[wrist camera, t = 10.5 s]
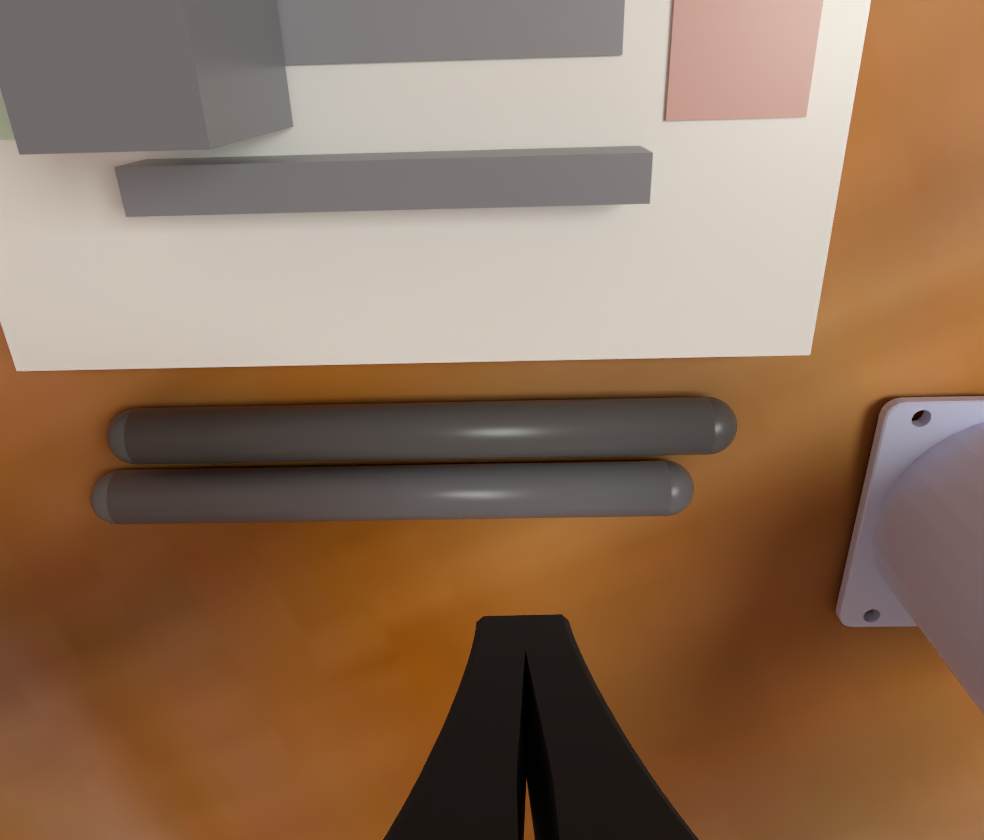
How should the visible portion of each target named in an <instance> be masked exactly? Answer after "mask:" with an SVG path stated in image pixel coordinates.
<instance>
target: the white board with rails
mask: <svg viewBox="0 0 984 840" xmlns="http://www.w3.org/2000/svg"><path fill="white" fill-rule="evenodd" d="M276 1H277V8H278V16H279V23H280V31H281V38H282V46H283V53H284V61H285V68H286V75H287V83H288V90H289V98H290V105H291V113H292V120H293V127H290V128H286V129H283V130H279V131H275V132H272V133H268V134H265V135H261V136H257V137H254V138H250V139H246V140H243V141H239V142H235V143H232V144H228V145H225V146H221V147H217V148H214V149H207V150H171V151H134V152H98V153H61V154H24V155H19V151H18V148H17V144H16V141H15V138H14V134H13V131H12V127H11V124H10V120H9V117H8V113H7V110H6V106H5V103H4V99H3V96H2V93H1V89H0V322H1V325H2V328H3V331H4V334H5V337H6V340H7V343H8V346H9V349H10V352H11V355H12V358H13V361H14V364H15V368H16V371H52V370H101V369H150V368H199V367H247V366H296V365H345V364H394V363H443V362H492V361H541V360H590V359H639V358H688V357H737V356H786V355H810V353H811V347H812V342H813V336H814V330H815V324H816V318H817V312H818V307H819V301H820V295H821V289H822V283H823V277H824V272H825V266H826V260H827V254H828V248H829V242H830V237H831V231H832V225H833V219H834V213H835V207H836V202H837V196H838V190H839V184H840V178H841V172H842V167H843V161H844V155H845V149H846V143H847V137H848V132H849V126H850V120H851V114H852V108H853V102H854V97H855V91H856V85H857V79H858V73H859V67H860V62H861V56H862V50H863V44H864V38H865V32H866V27H867V21H868V15H869V9H870V3H871V0H276ZM736 432H737V420H736V417H735V414H734V412H733V410H732V409H731V408H730V407H729V406H728V405H727V404H726V403H725V402H723V401H721V400H719V399H716V398H713V397H679V398H627V399H575V400H523V401H471V402H419V403H367V404H315V405H262V406H210V407H158V408H132V409H129V410H126V411H123V412H122V413H120V414H118V415H117V416H116V417H115V418H114V419H113V420H112V422H111V423H110V425H109V427H108V431H107V442H108V446H109V448H110V449H111V451H112V453H113V454H114V455H115V456H116V457H118V458H119V459H120V460H122V461H124V462H127V463H131V464H189V463H246V462H304V461H361V460H419V459H476V458H534V457H591V456H649V455H706V454H715V453H718V452H720V451H722V450H724V449H725V448H727V447H728V446H729V445H730V444H731V442H732V441H733V439H734V437H735V435H736ZM693 492H694V485H693V481H692V478H691V476H690V474H689V473H688V471H687V470H686V469H685V468H684V467H682V466H681V465H679V464H677V463H675V462H672V461H613V462H555V463H497V464H439V465H381V466H323V467H265V468H207V469H149V470H117V471H112V472H109V473H107V474H105V475H104V476H102V477H101V478H100V479H99V480H98V481H97V482H96V483H95V485H94V486H93V488H92V491H91V496H90V501H91V506H92V508H93V510H94V512H95V514H96V515H97V516H98V517H99V518H101V519H102V520H104V521H106V522H108V523H112V524H178V523H242V522H306V521H371V520H435V519H500V518H564V517H629V516H671V515H675V514H678V513H679V512H681V511H683V510H684V509H685V508H686V507H687V506H688V505H689V503H690V502H691V500H692V497H693Z"/></svg>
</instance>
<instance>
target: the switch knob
mask: <svg viewBox="0 0 984 840" xmlns="http://www.w3.org/2000/svg"><path fill="white" fill-rule="evenodd" d="M0 89H1V93H2V96H3V99H4V103H5V106H6V110H7V113H8V117H9V120H10V124H11V127H12V131H13V134H14V138H15V141H16V144H17V148H18V151H19V155H24V154H61V153H98V152H134V151H171V150H207V149H214V148H217V147H221V146H225V145H228V144H232V143H235V142H239V141H243V140H246V139H250V138H254V137H257V136H261V135H265V134H268V133H272V132H275V131H279V130H283V129H286V128H290V127H293V120H292V113H291V105H290V98H289V90H288V83H287V75H286V68H285V61H284V53H283V46H282V38H281V31H280V23H279V16H278V8H277V1H276V0H0Z"/></svg>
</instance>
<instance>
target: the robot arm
mask: <svg viewBox="0 0 984 840" xmlns="http://www.w3.org/2000/svg"><path fill="white" fill-rule="evenodd" d="M921 410H924V413H923V415H922V417H920V418H919V419H918V420H915V421H912V417H913V415H914V414H915V413H917V412H918V411H921ZM872 609H873V611H872V612H870V613H867V614H865V612H867V611H868V610H872ZM836 614H837V616H838V618H839V619H840V621H841V622H842V624H844V625H845V626H848V627H903V626H918V627H919V629H920V630H921V631H922V633H923V634H924V635H925V637H926V638H927V639H928V641H929V642H930V643H931V645H932V646H933V647H934V649H935V650H936V651H937V653H938V654H939V655H940V657H941V658H942V659H943V661H944V662H945V663H946V665H947V666H948V667H949V669H950V670H951V672H952V673H953V674H954V676H955V677H956V678H957V680H958V681H959V682H960V684H961V685H962V686H963V688H964V689H965V690H966V692H967V693H968V694H969V696H970V697H971V698H972V700H973V701H974V702H975V704H976V705H977V706H978V708H979V709H980V710H981V712H982V713H983V714H984V396H952V397H901V398H896V399H893V400H891V401H889V402H887V403H886V404H885V405H884V406H883V407H882V409H881V411H880V414H879V418H878V422H877V427H876V431H875V436H874V440H873V445H872V449H871V454H870V458H869V463H868V467H867V472H866V476H865V481H864V485H863V490H862V494H861V499H860V503H859V507H858V512H857V516H856V521H855V525H854V530H853V534H852V539H851V543H850V548H849V552H848V557H847V561H846V566H845V570H844V575H843V579H842V584H841V588H840V593H839V597H838V602H837V606H836ZM526 777H527V784H528V792H529V799H530V806H531V813H532V821H533V828H534V835H535V840H698V838H697V837H696V836H695V835H694V833H693V832H692V831H691V829H690V828H689V827H688V825H687V824H686V823H685V822H684V820H683V819H682V818H681V816H680V815H679V814H678V812H677V811H676V810H675V808H674V807H673V806H672V804H671V803H670V802H669V800H668V799H667V797H666V796H665V795H664V793H663V792H662V791H661V789H660V788H659V786H658V785H657V783H656V782H655V780H654V779H653V778H652V776H651V775H650V773H649V772H648V770H647V769H646V767H645V766H644V764H643V763H642V761H641V760H640V758H639V756H638V755H637V753H636V752H635V750H634V749H633V747H632V746H631V744H630V742H629V741H628V739H627V738H626V736H625V734H624V733H623V731H622V730H621V728H620V726H619V724H618V723H617V721H616V719H615V717H614V716H613V714H612V712H611V710H610V709H609V707H608V705H607V704H606V702H605V700H604V698H603V697H602V695H601V693H600V691H599V689H598V687H597V685H596V683H595V682H594V680H593V678H592V676H591V674H590V671H589V669H588V667H587V665H586V663H585V661H584V659H583V657H582V655H581V653H580V650H579V648H578V646H577V643H576V641H575V638H574V636H573V633H572V630H571V627H570V624H569V621H568V620H567V619H566V618H565V617H564V616H563V615H518V616H483V617H482V618H481V619H480V620H479V621H478V622H477V623H476V631H475V636H474V641H473V645H472V649H471V653H470V656H469V659H468V663H467V666H466V669H465V672H464V675H463V677H462V680H461V683H460V686H459V689H458V691H457V693H456V696H455V698H454V701H453V703H452V706H451V708H450V711H449V713H448V716H447V718H446V721H445V723H444V725H443V728H442V730H441V732H440V734H439V736H438V738H437V741H436V743H435V745H434V747H433V749H432V751H431V753H430V755H429V757H428V759H427V761H426V763H425V765H424V768H423V770H422V772H421V774H420V776H419V778H418V780H417V781H416V783H415V785H414V787H413V789H412V791H411V793H410V794H409V796H408V798H407V800H406V802H405V804H404V805H403V807H402V809H401V811H400V812H399V814H398V816H397V817H396V819H395V821H394V823H393V824H392V826H391V828H390V829H389V831H388V833H387V835H386V836H385V838H384V839H383V840H524V820H525V796H526Z"/></svg>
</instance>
